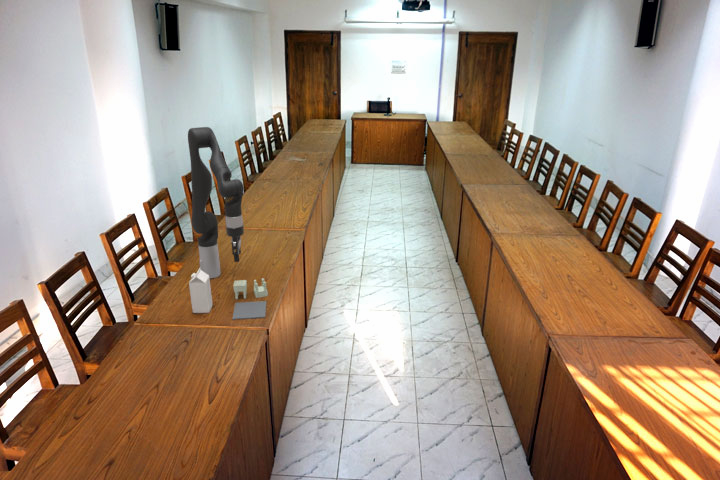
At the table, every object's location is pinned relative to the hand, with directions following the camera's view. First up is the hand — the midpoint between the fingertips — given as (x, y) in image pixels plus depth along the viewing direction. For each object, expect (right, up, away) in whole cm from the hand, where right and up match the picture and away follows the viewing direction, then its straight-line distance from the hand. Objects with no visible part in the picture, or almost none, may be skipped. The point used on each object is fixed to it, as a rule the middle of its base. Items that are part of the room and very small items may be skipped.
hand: (237, 257), depth 231 cm
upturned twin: (+9, -18, +10) cm, 22 cm away
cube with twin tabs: (0, -18, +7) cm, 20 cm away
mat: (+7, -24, -5) cm, 25 cm away
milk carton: (-15, -23, -4) cm, 28 cm away
